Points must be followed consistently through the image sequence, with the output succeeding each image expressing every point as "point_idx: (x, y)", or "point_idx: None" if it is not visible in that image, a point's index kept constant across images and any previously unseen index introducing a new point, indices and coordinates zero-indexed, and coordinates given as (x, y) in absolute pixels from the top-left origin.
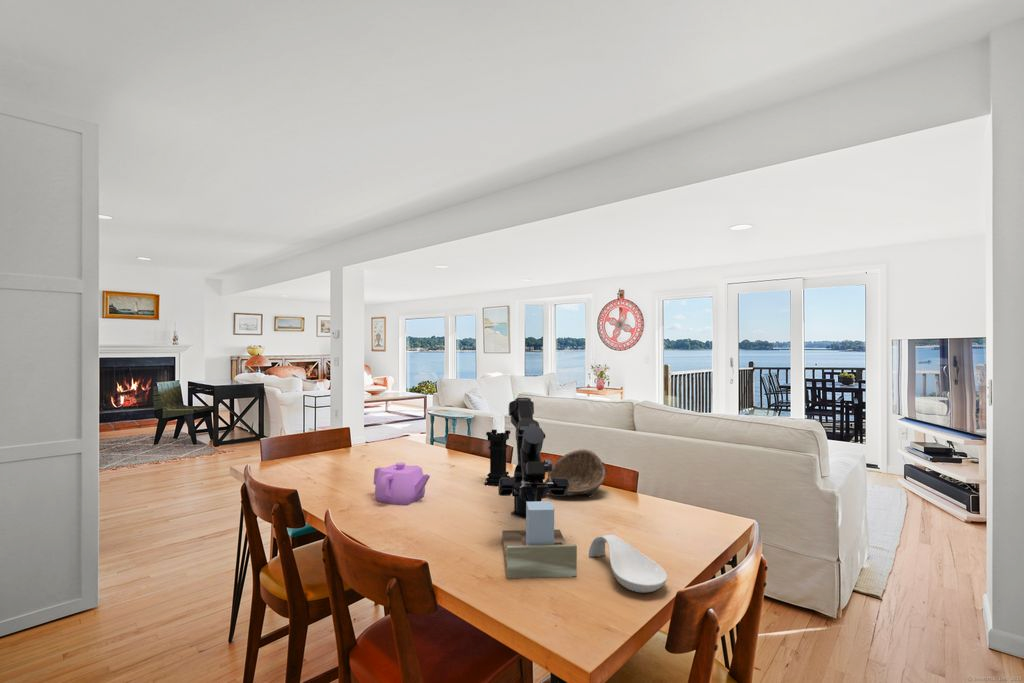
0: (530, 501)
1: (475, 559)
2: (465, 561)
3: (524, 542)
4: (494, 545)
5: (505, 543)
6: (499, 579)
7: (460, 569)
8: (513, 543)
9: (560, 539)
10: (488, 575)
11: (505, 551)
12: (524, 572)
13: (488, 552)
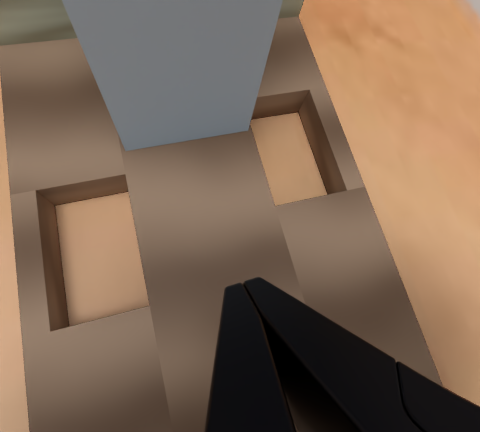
0: (414, 380)
1: (445, 155)
2: (470, 134)
3: (285, 279)
4: (433, 315)
5: (380, 246)
6: (308, 25)
7: (455, 76)
8: (340, 253)
9: (54, 383)
10: (351, 46)
11: (349, 152)
12: None
13: (426, 228)
